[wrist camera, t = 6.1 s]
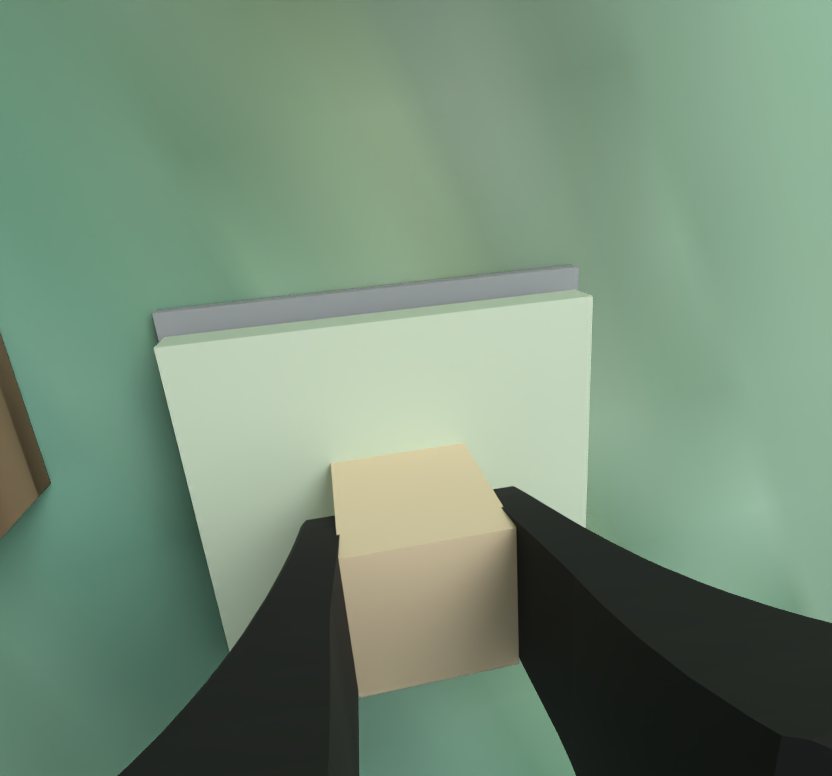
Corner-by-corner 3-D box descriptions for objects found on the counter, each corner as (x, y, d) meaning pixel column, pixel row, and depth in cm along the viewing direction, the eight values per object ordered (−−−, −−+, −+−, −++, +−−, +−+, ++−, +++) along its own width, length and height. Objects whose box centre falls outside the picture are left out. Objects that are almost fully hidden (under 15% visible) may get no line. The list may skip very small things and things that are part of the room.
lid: (244, 669, 14) (221, 848, 10) (163, 337, 11) (88, 414, 7) (568, 605, 15) (655, 742, 11) (575, 289, 12) (694, 334, 8)
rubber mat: (238, 652, 15) (236, 664, 14) (157, 309, 12) (151, 313, 11) (566, 588, 16) (572, 598, 15) (570, 264, 13) (578, 266, 12)
